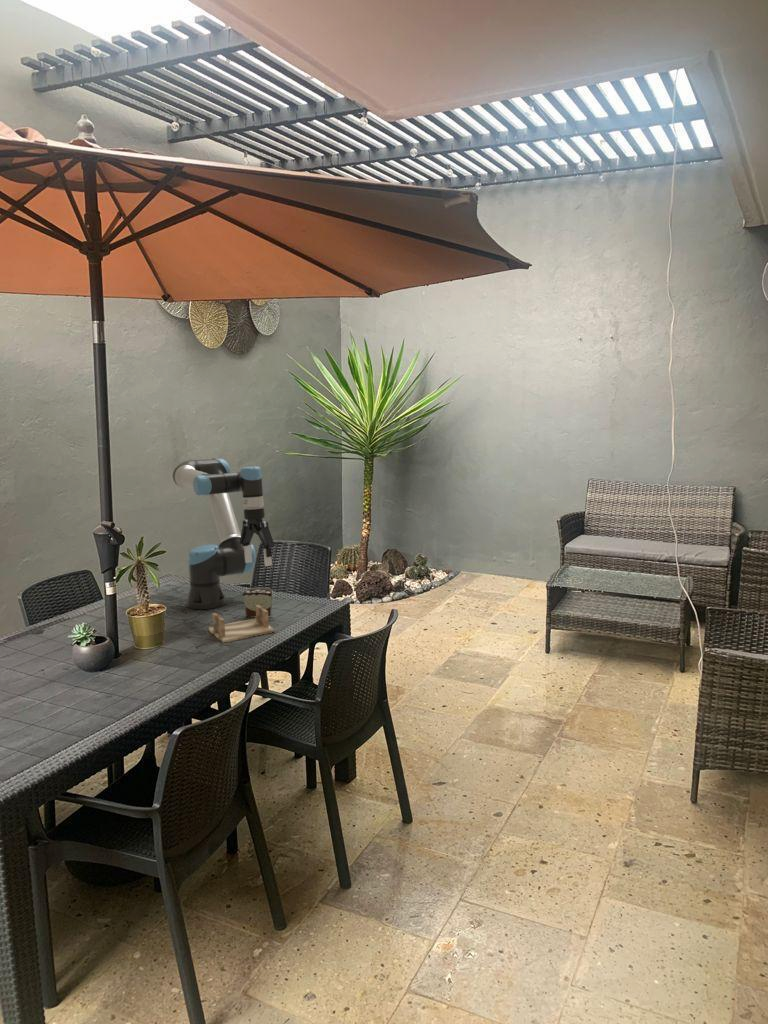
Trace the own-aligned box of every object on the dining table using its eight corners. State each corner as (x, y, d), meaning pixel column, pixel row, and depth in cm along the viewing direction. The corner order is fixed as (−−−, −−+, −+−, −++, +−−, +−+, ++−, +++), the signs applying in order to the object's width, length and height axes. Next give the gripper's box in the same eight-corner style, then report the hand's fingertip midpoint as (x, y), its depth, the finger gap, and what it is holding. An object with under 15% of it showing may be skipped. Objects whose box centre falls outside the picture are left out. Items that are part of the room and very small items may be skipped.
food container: (278, 612, 282) (277, 587, 280) (274, 617, 276) (273, 591, 274) (247, 611, 283) (245, 586, 281) (242, 616, 277) (241, 591, 275)
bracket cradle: (208, 629, 263) (206, 611, 262) (257, 620, 273) (256, 602, 271) (223, 643, 249) (222, 623, 248) (275, 632, 259) (274, 613, 258)
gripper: (227, 508, 280) (232, 562, 283) (263, 510, 262) (268, 568, 264) (244, 506, 285) (249, 559, 288) (281, 507, 267) (285, 565, 269)
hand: (258, 564), depth 276 cm, fingers open, 13 cm apart
